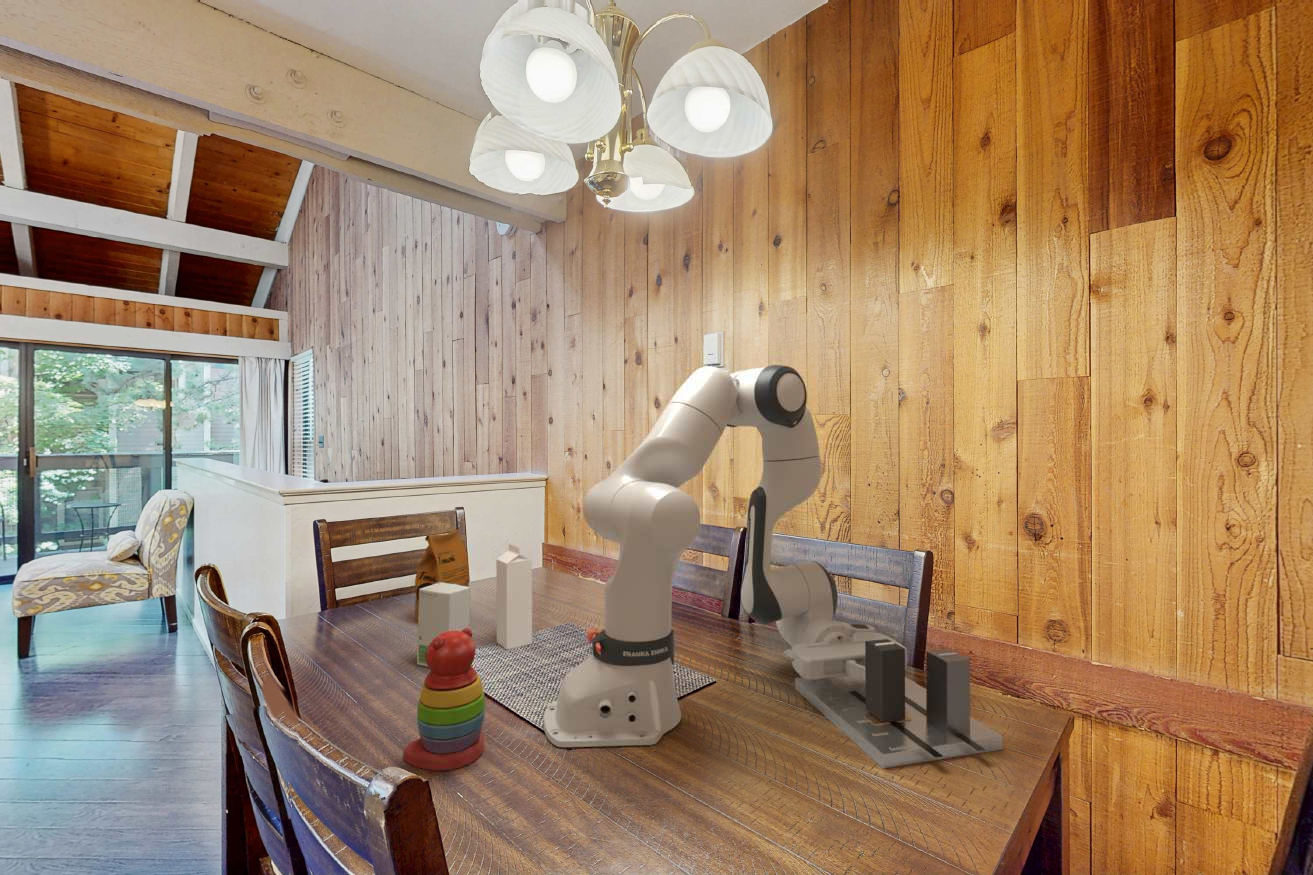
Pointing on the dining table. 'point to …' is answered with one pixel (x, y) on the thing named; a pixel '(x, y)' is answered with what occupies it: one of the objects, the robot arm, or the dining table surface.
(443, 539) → the coffee package
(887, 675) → the fader knob
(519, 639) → the milk
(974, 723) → the console
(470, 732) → the stacking bear
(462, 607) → the skincare box
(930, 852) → the dining table surface
